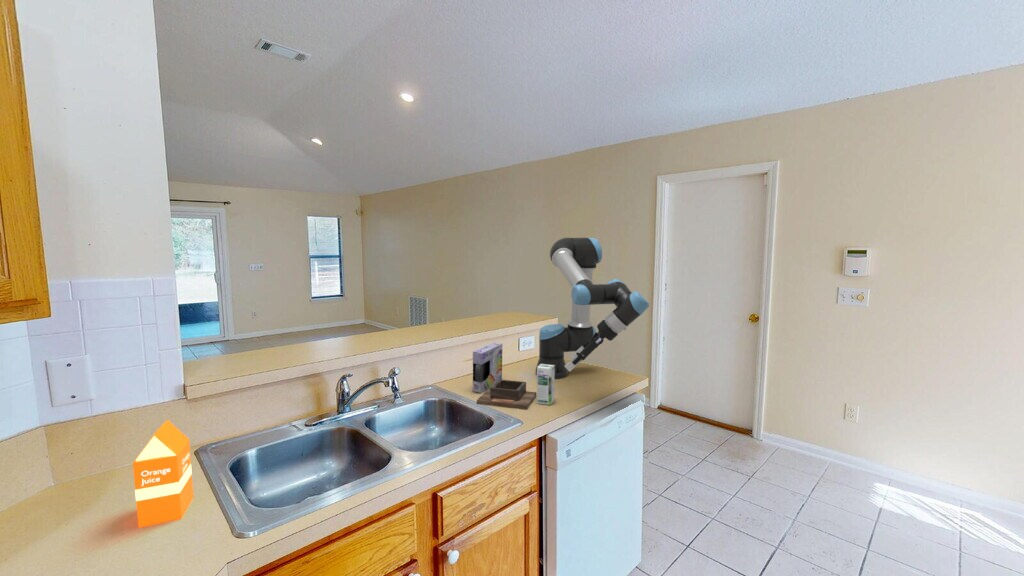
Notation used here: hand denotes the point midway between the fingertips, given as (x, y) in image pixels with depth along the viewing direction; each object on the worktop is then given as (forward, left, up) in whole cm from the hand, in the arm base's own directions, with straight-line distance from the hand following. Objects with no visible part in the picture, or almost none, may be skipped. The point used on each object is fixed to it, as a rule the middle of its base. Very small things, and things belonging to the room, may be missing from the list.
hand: (569, 363), depth 156 cm
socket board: (+1, -24, -16) cm, 29 cm away
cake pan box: (-11, -37, -16) cm, 42 cm away
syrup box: (-1, -9, -16) cm, 19 cm away
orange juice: (+90, -77, -16) cm, 120 cm away
